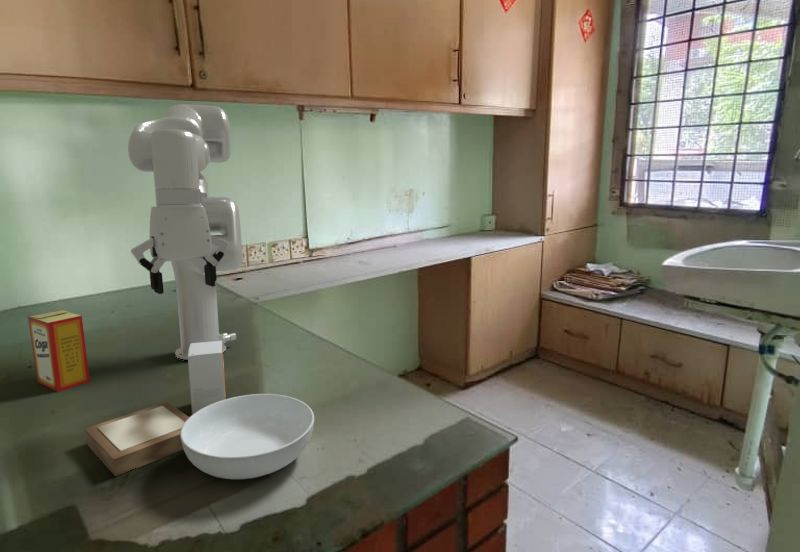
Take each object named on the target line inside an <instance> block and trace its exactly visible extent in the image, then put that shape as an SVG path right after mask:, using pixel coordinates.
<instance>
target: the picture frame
mask: <svg viewBox="0 0 800 552" xmlns="http://www.w3.org/2000/svg"><path fill="white" fill-rule="evenodd" d="M189 417H190V416H188V415H187V414H185V413H184V412H182V411H181V410H179V409H178V408H177V407H176V406H174V405H172V403H170V402H168V401H165V402H163V403H160V404H156V405H153V406H150V407H147V408H146V407H145V408H144V409H141V410H137V411H134V412H131V413H128V414H125V415H122V416H119V417H116V418H113V419H110V420H106V421H103V422H100V423H98V424H95V425H91V426H88V427H85V428H84V434H85V441H86V445H87V447H89V449H90V450H91V451H92V452H93V453H94V454H95V455H96V456H97V458H98V457H99V460H100V461H101V462H102V463H103V465H104V466H105V467H106V468H107V469H108V470H109V471H110V472H111V473H112V474H113V476H114V477H115V476H117V477H119V476H121V475H120V474H122V475H124V474H126V472H127V473H128V471H129V472H131V471H130V470H132V469H134V470H136V469H138V468H141V467H143V466H144V467H145V466H146V465H148V464H151V463H153V462H155V461H158V460H160V459H163V458H166V457H169V456H171V455H173V454H176V453H178V452H180V451H184V449H183V446H182V442H181V438H180V433H181V429H182V426H183V425H184V423H185V422H186V421H187V420H188V419H189ZM135 468H136V469H135ZM132 471H133V470H132ZM123 473H124V474H123ZM118 475H119V476H118Z"/></svg>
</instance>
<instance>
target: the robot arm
mask: <svg viewBox="0 0 800 552" xmlns="http://www.w3.org/2000/svg"><path fill="white" fill-rule="evenodd" d="M231 139H232V138H231V124H230V119H229V117H228V115H227V113H226V112H225V110H224V109H223V108H222V107H219V106H218V105H217V106H216V105H205V104H189V103H178V104H174V105H171V106H170V107H169V108H168V109H167V110H166V112H165V114H164V117H159V118H157V119H151V120H147V121H143V122H140V123H138V124H136V125H135V126H134V128H133V130H132V131H131V133H130V136H129V139H128V144H127V146H128V147H127V151H128V157H129V161H130V163H131V164H132V165H133V167H134V168H135V169H137V170H139V171H142V172H145V173H146V172H147V173H149V172H150V173H151V172H153V181H154V182H153V183H154V192H155V194H154V195H155V204H156V205H155V206H151V208H150V214H149V215H150V216H149V239H147V240H145V241H144V242H142V243H140V244H138V245H137V246H135V247H133V248H131V249H130V253H131V254H132V255H133V257H134V258H135V259H136V261H137V263H138V264H139V265H140V266H142V267H143V268H144V269H146V271H148V272H149V280H150V288H151V289H152V290H153V292H154V293H156V294H158V295H162V294H164V283H163V282H164V281H163V273H162V272H161V271H160V269H161V268H162V267H163V265H164V264H165V263H166V262H171V267H172V270H173V275H174V281H175V290H176V301H177V313H178V324H179V336H180V346H179V348H177V349H176V350H175V352H174V355H176V356H175V358H176V357H177V358H176V359H178V358H180V359H188V350H189V347H190V344H191V343H200V342H212V341H222V342H223V352H224V351H225V350H226V351H227V345H226V343H227V342H230V341H235V340H237V334H236V333H235V332H231V333H227V332H223V333H220V331H219V330H220V327H219V314H218V299H217V298H218V296H217V287H216V282H217V272H226V271H227V272H228V271H229V272H231V271H237V270H238V269H240V268H241V266H242V264H243V260H244V259H243V255H244V254H243V243H242V242H243V241H242V231H241V228H242V227H241V218H240V210H239V207H238V205H237V202H236V201H235V200H234V199H233V198H231V197H227V196H209V183H208V180H207V179H206V177H205V176H204V174H202V173H201V172H203V171H204V170H205V169H206V168H207V166H208V165H209V164H210V163H217V164H218V163H225V162H228V161H229V159H230V157H231V153H232V141H231ZM215 233H216V234H215ZM218 233H220V234H218ZM146 251H149V252H150V256H151V257H152V259H151V260H148V259H147V258H146V257H145V255H144V253H145V252H146ZM180 359H179V360H180Z"/></svg>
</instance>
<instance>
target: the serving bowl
mask: <svg viewBox="0 0 800 552" xmlns="http://www.w3.org/2000/svg"><path fill="white" fill-rule="evenodd" d="M188 417H189V419H188V420H187V421H186V422H185V423H184V425H183V426H182V429H181V433H180V438H181V442H182V446H183V451H184V453H185V455H186V457H187V459H188V461H190V462H191V464H192V465H193V466H195V467H196V468H197V469H199V470H200V471H201V472H203V473H206V474H208V475H210V476H212V477H215V478H219V479H225V480H228V479H229V480H246V479H247V480H248V479H254V478H258V477H263V476H266V475H269V474H272V473H275V472H277V471H279V470H281V469H282V468H285V467H286V466H288V465H290V464H292V462H293V461H295V460H296V459H297V458H298V457H299V456H301V454H302V453H303V451H304V450H305V449H306V447H307V446H308V444H309V442H310V440H311V438H312V435H313V432H314V426H315V414H314V412H313V410H312V408H311V406H310V405H308V404H307V403H305V402H304V401H302V400H301V399H298V398H294V397H292V396H288V395H282V394H275V393H256V394H254V393H253V394H245V395H239V396H234V397H230V398H226V399H225V400H222V401H219V402H216V403H213V404H211V405H209V406H206V407H204V408H202V409H201V410H199V411H197V412H196V413H195V414H193V415H192V414H191V415H190V416H188Z"/></svg>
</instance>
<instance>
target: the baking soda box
mask: <svg viewBox="0 0 800 552" xmlns="http://www.w3.org/2000/svg"><path fill="white" fill-rule="evenodd" d="M27 319H28V326H29V333H30V340H31V347H32V355H33V361H34V368H35V375H36V382H37V383H38V384H40V385H42V386H44V387H46V388H49V389H51V390H53V391H55V392H57V393H58V392H59V393H60V392H63V391H65V390H68V389H72V388H75V387H78V386H80V385H83V384H87V383H90V381H91V380H90V373H89V364H88V357H87V356H88V355H87V348H86V339H85V338H86V337H85V332H84V331H85V330H84V324H83V323H84V322H83V316H82V315H81V314H78V313H77V314H76V313H72V312H69V311H68V310H63V309H59V310H53V311H49V312H48V311H47V312H42V313H38V314H33V315H28V316H27Z"/></svg>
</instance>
